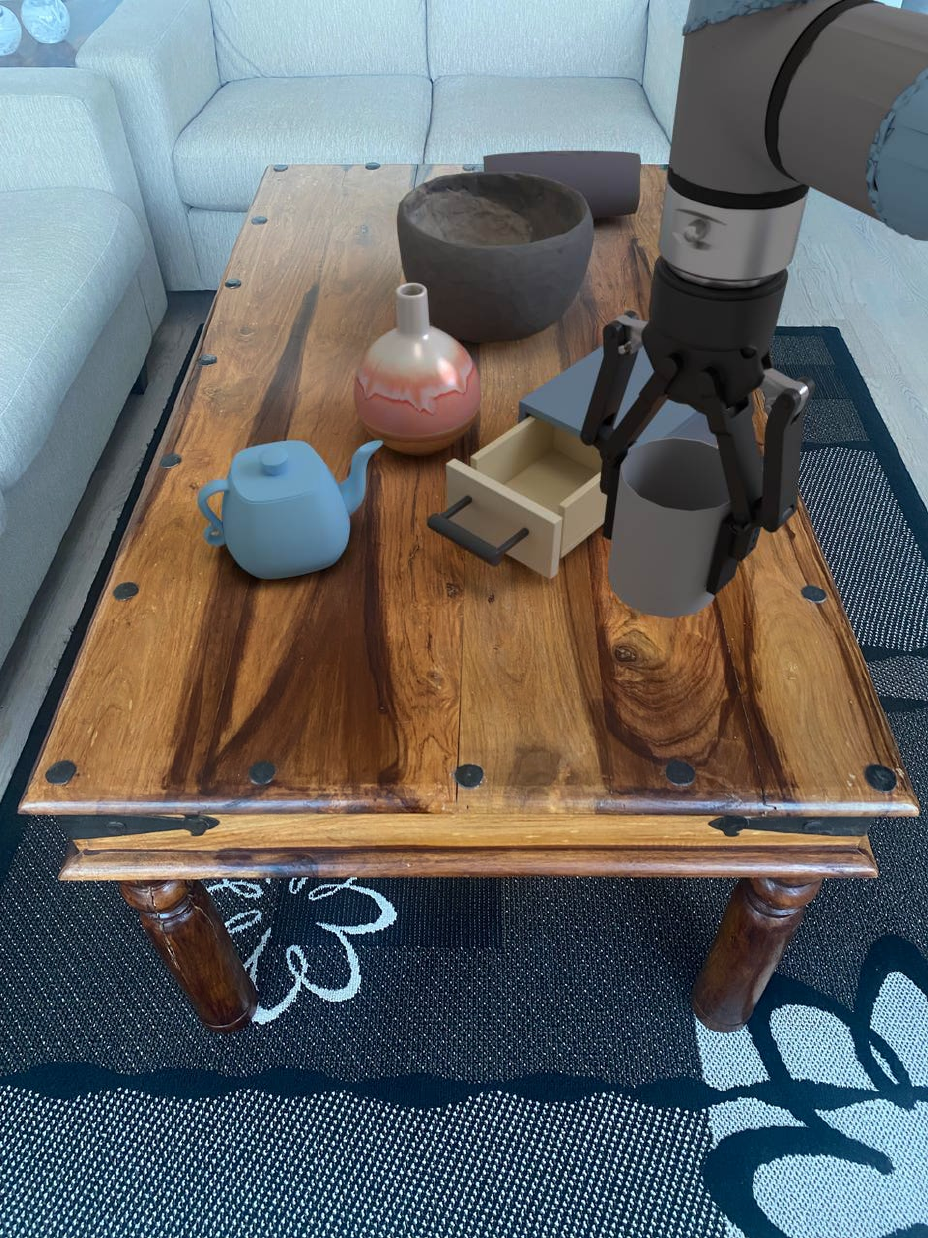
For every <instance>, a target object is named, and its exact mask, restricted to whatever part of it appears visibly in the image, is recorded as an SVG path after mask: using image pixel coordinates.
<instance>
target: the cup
mask: <svg viewBox="0 0 928 1238" xmlns="http://www.w3.org/2000/svg"><path fill="white" fill-rule="evenodd" d="M732 512H733V510H732V506H731V502H730V497H729V493H728V488H727V484H726V479H725V475H724V470H723V466H722V461H721V457H720V453H719V448H718V446H717V447H716V446H713V445H711V444H708V443H706V442H703V441H701V440H694V439H685V438H677V437H671V438H664V439H657V440H650V441H647V442H645V443H643V444H642V445H640V446H638V447H636V448H634V449H632V450H630V451H629V453H628V454H627V456H626V458H625V459H624V461H623V463H622V464H621V468H620V476H619V484H618V491H617V499H616V507H615V515H614V523H613V531H612V539H611V541H610V546H609V547H610V548H609V556H608V563H607V570H606V571H607V577H608V583H609V589H610V590H611V591H612V592H613V594H615V596H616V597H617V599H619V600H620V602H621V603H622V604H624V605H626V606H627V607H630V608H631V609H634V610H635V611H637V612H639V613H641V614H643V615H645V616H653V617H659V618H665V619H675V618H680V617H686V616H687V617H688V616H693V615H696V614H698V613H699V612H701V611H702V610H704V609H705V608H707V607H708V606H710V605H711V604H713V601H714V599H715V597H716V595H715V596H714V595H712V594H710V593H708V592H706V588H707V584H708V579H709V575H710V571H711V567H712V563H713V558H714V554H715V550H716V546H717V541H718V537H719V533H720V529H721V525H722V521H723V520H724V519H725V518H726V517H728V516H729V515H730V514H731V513H732Z"/></svg>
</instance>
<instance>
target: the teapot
mask: <svg viewBox="0 0 928 1238" xmlns="http://www.w3.org/2000/svg"><path fill="white" fill-rule="evenodd" d="M382 445H383V441H381V440H378V441H377V440H373V441H370V442H367V443H365V444H363V445H361V446H360V447H358V448H357V449H356V450H355V452H354V453H353V456H352V458H351V463H350V472H349V475H348V476H347V478H346V479H344V480H343V481H342V482H340V483H338V480H337V479H336V477H335V476H334V474H333V472H332V471H331V470H330V468H329V466H327V464H326V462H325V461H324V460H323V459H322V457H321V456H320V455H319V453H317V451H316V450H315V448H313V447H312V446H311V445H310V444H309V443H307V442H305V441H302V440H293V439H292V440H282V441H275V442H269V443H264V444H259V445H255V446H251V447H247V448H244V449H242V450H240V451H239V452H237V453H236V454H235V455H234V456H233V458H232V461H231V463H230V466H229V468H228V473H227V477H226V478H217V479H213V480H211V481H209V482H207V483H206V484H204V485H202V486H201V488H200V490H198V493H197V498H196V502H197V507H198V509H199V511H200V512H201V515H202V516H203V517H204V518H205V519H206V521H207V522H208V523H209V525H207V526H206V527H205V529H204V530H203V538H204V540H205V542H206V543H207V544H208V545H209V546H213V547H221V546H224V545H226V547H227V549H228V551H229V553H230V555H231V556H232V557H233V559H234V560H235V562H236V563H237V564H238V565H239V566H240V568H242V569H243V570H244V571H246V572H247V573H248V574H250V575H252V576H253V577H256V578H258V579H263V580H279V579H284V578H292V577H297V576H302V575H307V574H311V573H315V572H318V571H321V570H324V569H327V568H329V567H331V566H333V565H334V564H335V563H336V562H337V561H339V559H340V558H341V557H342V555H343V553H344V552H345V550H346V548H347V546H348V544H349V543H348V542H349V537H350V532H351V520H350V516H351V515H352V514H354V513H355V512H356V511H357V510H358V509H359V508H360V506H361V505H362V503H363V500H364V499H365V495H366V488H367V466H368V462H369V460H370V458H371V456H372V455H373V454H374V453H375V452H377V450H378V449H379V448H380V447H382ZM217 493H223V494H222V500H221V518H219V517H218V516H217V514H215V512H214V511H213V510H212V508H211V507H210V506H209V504H208V499H209V498H210V497H211V496H213V495H215V494H217ZM216 532H217V534H213V533H216Z"/></svg>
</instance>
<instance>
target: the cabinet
mask: <svg viewBox="0 0 928 1238" xmlns="http://www.w3.org/2000/svg"><path fill="white" fill-rule="evenodd" d="M603 357H604V352H603V344H602V345H601V346H599V347H598V348H596V349H595V350H594V351H592V352H590V353H589V354H587V355H585V356H584V357H583V358H581V359H580V360H578V361H577V362H575V363H574V364H572V365H571V366H569V367H568V368H566V369H565V370H563V371H562V372H560V373H559V374H557V375H556V376H554V377H553V378H551V379H550V380H548V381H546V382H545V383H544V384H542V385H541V386H539V387H537V388H536V389H535V390H533V391H532V392H530V393H529V394H527V395H526V396H524V397H522V398H521V399H520V400H518V419H517V420H518V421H517V425H518V424H519V423H521V422H522V421H523V420H525V419H526V418H528V417H529V416H531V415H533V416H535V417H537V418H540V419H542V420H544V421H546V422H548V423H550V424H552V425H554V426H556V427H558V428H560V429H562V430H564V431H566V432H568V433H570V434H572V435H574V436H576V437H578V438H580V433H581V430H582V426H583V423H584V420H585V416H586V413H587V410H588V406H589V403H590V400H591V396H592V393H593V390H594V386H595V383H596V380H597V376H598V373H599V370H600V366H601V363H602V360H603ZM653 373H654V370H653V368H652V366H651V363H650V361H649V359H648V356H647V354H646V351H645V349H644V347H643V346H642V348H640V349H639V351H638V355H637V358H636V361H635V364H634V367H633V370H632V373H631V376H630V379H629V382H628V385H627V388H626V391H625V394H624V397H623V400H622V403H621V406H620V409H619V412H618V415H617V418H616V421H615V424H614V427H613V428H614V429H616V427H617V426H618V425H619V423H620V422H621V420H622V419H623V418H624V416H625V415H626V413H627V412H628V411H629V409H630V408H631V406H632V405H633V404H634V402H635V401H636V399H637V398H638V397H639V395H638V394H639V392H640V391H641V390H642V388H643V387H644V385H645V384H646V383H647V381H648V380H649V378H650V377H651V376H652V374H653ZM671 437H677V438H685V439H694V440H701V441H703V442H706V443H708V444H711V445H713V446H716V447H718V444H717V439H716V436H715V434H712V433H711V432H710V430H709V426H708V422H707V417H706V415H704V414H701V413H699V412H697V411H696V410H695V409H693V408H692V407H690V406H689V405H687V404H680V403H676V402H673V401H671V400H669V399H668V400H667V401H666V402H665V404H664V405H663V406H662V407H661V409H660V410H659V411H658V413H657V414H656V415H655V417H654V418H653V419H652V421H651V422H650V423H649V424H648V426H647V427H646V428H645V430H644V431H643V432H642V434H641V435H640V436H639V438H638V439H637V440H636V441H638V442H637V443H635V444H634V445H633V446H632V447H630V448H629V449H628V453H629V451H630V450H632V449H634V448H636V447H638V446H640V445H642V444H643V443H645V442H647V441H650V440H657V439H664V438H671Z"/></svg>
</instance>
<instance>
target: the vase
mask: <svg viewBox="0 0 928 1238" xmlns="http://www.w3.org/2000/svg"><path fill="white" fill-rule="evenodd" d="M395 302H396V303H395V306H396V307H395V308H396V322H397V323H396V327H394V328H392V329H391V330H389V331H387V332H385V333H384V334H383V335H381V336H380V337H379V338H377V339H376V340H375V341H374V342H373V343H372V344H371V345H370V346H369V348H367V350H366V351H365V353H364V354H363V356H362V357H361V360H360V361H359V363H358V366H357V368H356V372H355V375H354V380H353V381H354V382H353V392H352V393H353V394H352V395H353V404H354V409H355V412H356V416H357V418H358V420H359V422H360V423H361V426H362V427H363V428H364V429H365V430H366V432H367V433H368V434H369V435H370V436H371V437H372V438H373V439H374V440H375V441H378V440H381V441H383V444H382V445H383V446H385V447H387V448H389V449H391V450H394V451H395V452H399V453H401V454H404V455H408V456H416V457H421V456H430V455H433V454H437V453H438V452H441V451H443V450H444V449H446V448H448V447H450V446H452V445H453V444H455V443H457V442H458V441H459V440H460V439H461V438H463V437H464V436H465V435H466V434H467V433H468V431H469V430H470V429H471V427H472V426H473V425H474V423H475V421H476V419H477V417H478V415H479V413H480V407H481V402H482V387H481V380H480V379H481V378H480V374H479V372H478V370H477V367H476V364H475V362H474V360H473V358H472V356H471V355H470V354H469V352H468V351H467V349H466V348H465V347H464V346H463V345H462V344H461V343H460V342H459V341H458V340H457V339H456V338H455V337H452V336H450V335H448V334H447V333H445V332H443V331H441V330H440V329H438V328H437V327H435V326H434V325H433V326H432V325H430V324H431V323H430V322H429V311H428V297H427V289H426V288H425V287H424V286H423V285H421V284H418V283H406V282H405V283H403V284H401V285H399V286H398V287H397V288H396V290H395Z"/></svg>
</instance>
